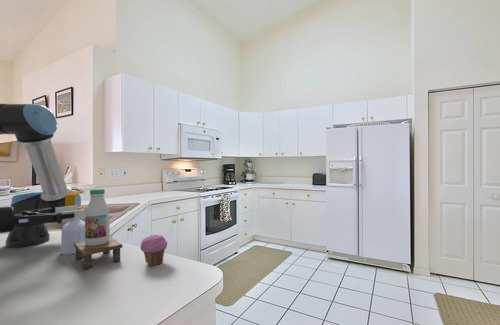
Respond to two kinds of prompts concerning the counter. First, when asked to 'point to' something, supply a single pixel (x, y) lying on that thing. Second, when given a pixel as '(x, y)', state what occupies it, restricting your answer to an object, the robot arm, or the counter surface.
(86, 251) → the pegged shelf
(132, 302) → the counter surface
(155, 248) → the cupcake
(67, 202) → the soap bottle
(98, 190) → the milk bottle
